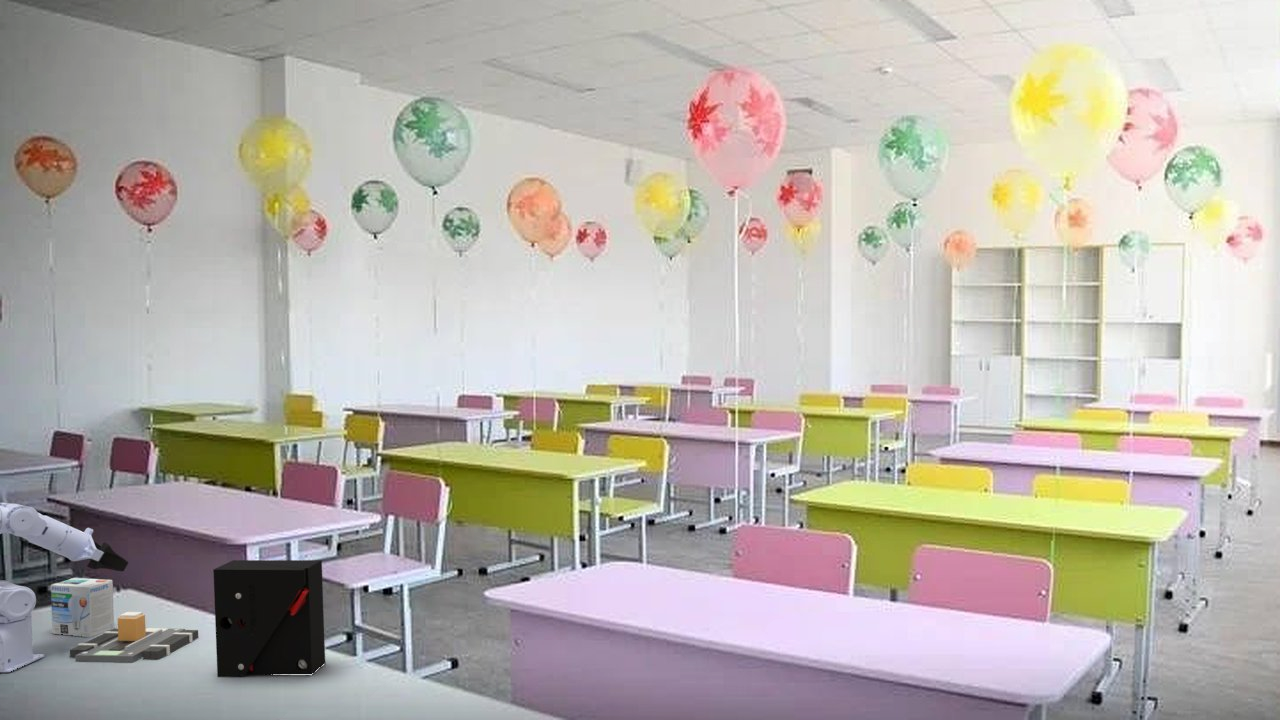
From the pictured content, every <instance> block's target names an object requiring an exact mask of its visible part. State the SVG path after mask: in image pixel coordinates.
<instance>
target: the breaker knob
mask: <svg viewBox="0 0 1280 720" xmlns="http://www.w3.org/2000/svg"><path fill="white" fill-rule="evenodd" d="M146 628H147V627H146V615H145V614H143V611H126V612H124V613H122V614H120V615H119V617H118V618H117V629H118V641H137V640H139V639H141V638H143V637H145V636H146Z"/></svg>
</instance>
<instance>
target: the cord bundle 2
mask: <svg viewBox="0 0 1280 720" xmlns="http://www.w3.org/2000/svg"><path fill="white" fill-rule="evenodd" d="M197 639H199V630H198V629H185V630H182V631H180V632H178V633H173V636H171V637H169V638H167V639H165V640H163V641H161V642H159V643H157V644H155V645H150V646H149V648H148V649H146V650H144V651H143V657H142V660H155V661H156V660H158V661H159V660H160V659H162V658H164V657H166V656H169V655H171V654H172V653H173V652H176V650H179V649H181V648H183V647H184V646H186V645H188V644H190V643H193V641H195V640H197Z"/></svg>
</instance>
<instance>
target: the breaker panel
mask: <svg viewBox="0 0 1280 720" xmlns="http://www.w3.org/2000/svg"><path fill="white" fill-rule="evenodd" d="M145 628H146V636H145V637H143V638H141V639H139V640H137V641H118V636H117V637H115V638H113V639H111V640H109V641H107V642H105V643H103V644H101V645H99V646H98V647H96V648H93V649H90V650H88V651H86V652H81V653H79V654H77V655H75V658H74V659H75V662H87V663H88V662H89V663H90V662H91V663H92V662H93V663H96V662H97V663H130V664H131V663H134V662H137V661H138V660H140V659H143V651H144V650H146V649H148V648H149V646H150V645H155V644H157V643H159V642H161V641H163V640H165V639H167V638H169V637H171V636H173V633H178V632H180V631H182V630H186V628H168V627H167V628H165V627H164V628H162V627H160V628H159V627H158V628H157V627H154V628H153V627H150V628H149V627H145Z"/></svg>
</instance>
